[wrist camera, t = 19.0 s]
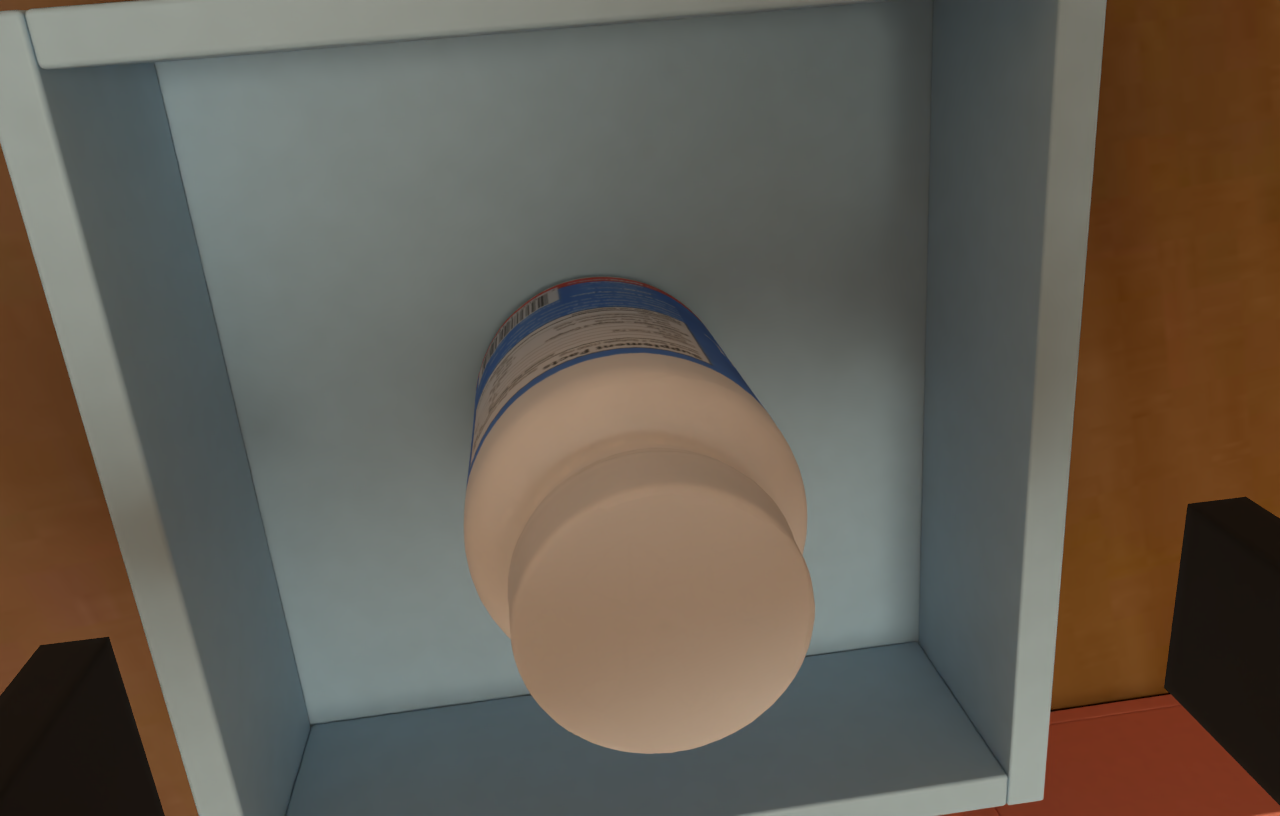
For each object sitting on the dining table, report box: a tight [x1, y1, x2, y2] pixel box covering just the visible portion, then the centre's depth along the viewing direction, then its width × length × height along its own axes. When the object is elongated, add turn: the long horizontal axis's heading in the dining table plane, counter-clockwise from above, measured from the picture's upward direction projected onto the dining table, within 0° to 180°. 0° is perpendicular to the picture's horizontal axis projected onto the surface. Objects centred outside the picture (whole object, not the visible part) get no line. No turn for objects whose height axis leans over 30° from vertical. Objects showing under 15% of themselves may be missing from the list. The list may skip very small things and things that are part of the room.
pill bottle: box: [464, 276, 815, 754], centre depth 17 cm, size 6×5×10 cm
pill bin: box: [0, 0, 1107, 816], centre depth 20 cm, size 17×17×6 cm
